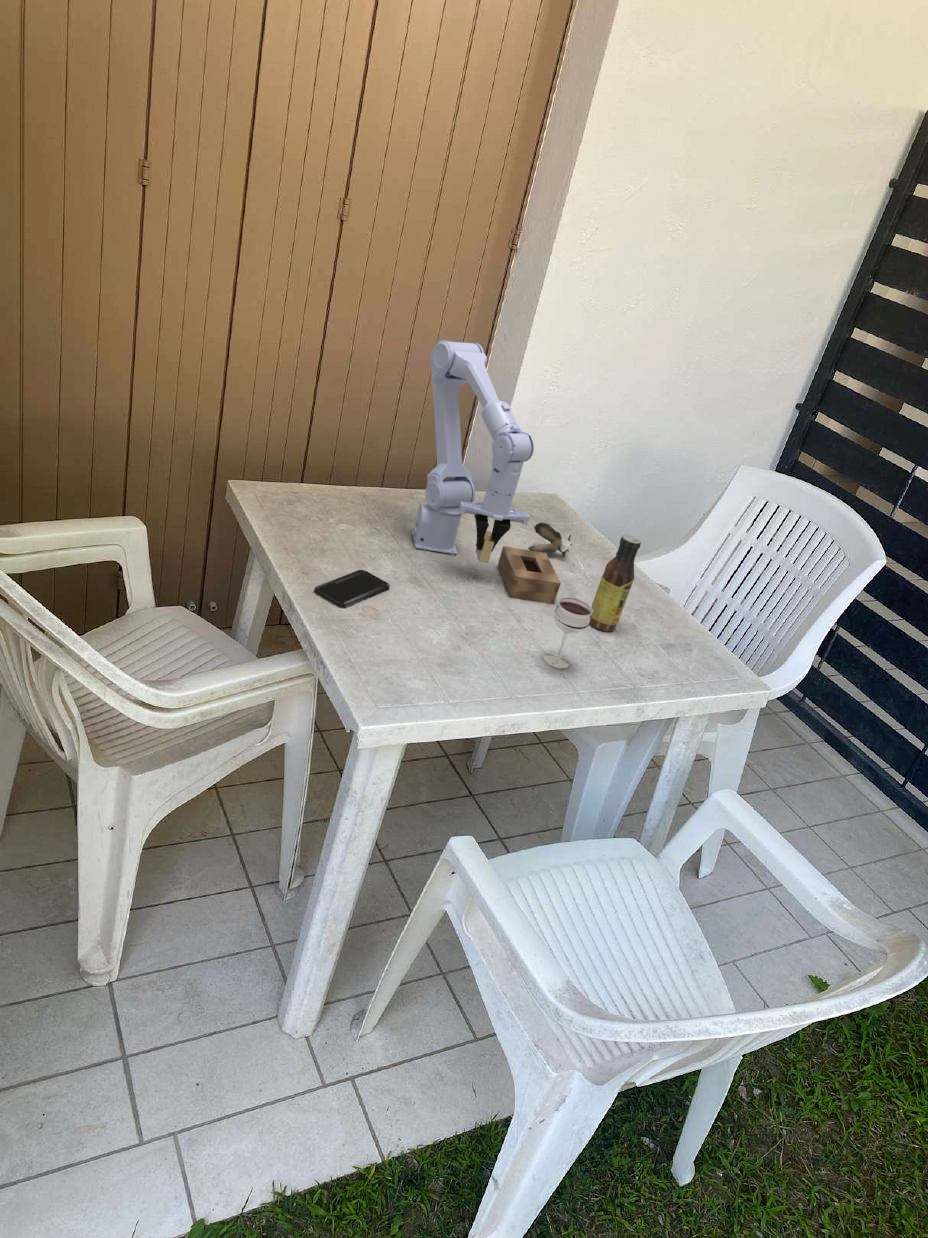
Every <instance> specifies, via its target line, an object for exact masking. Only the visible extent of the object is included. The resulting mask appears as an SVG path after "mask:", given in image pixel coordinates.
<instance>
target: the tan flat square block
mask: <svg viewBox="0 0 928 1238" xmlns="http://www.w3.org/2000/svg"><path fill="white" fill-rule="evenodd" d="M493 545H494V539H493V537H492V532H491V531H489V530H487V531H486V533H485V536H484V540H483V544H482V547H481V550H478V549H477V547H476V546H475V547H476V548H475V553H476V557H477V559H478V562H479V563H485V564H489V563H490V562H489V561H490V558H491V555H492V553H493V551H492V549H493ZM493 550H494V549H493Z"/></svg>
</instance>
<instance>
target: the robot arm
mask: <svg viewBox="0 0 928 1238" xmlns="http://www.w3.org/2000/svg"><path fill="white" fill-rule="evenodd" d="M487 358H488V357H487V355H486V353H485V351H484V348H483V347H482V345H481V344H479V343H477V342H471V343H470V342H461V341H460V342H458V341H450V340H449V341H448V340H444V339H443V340H439V341H438V342H437V343H436V345H435V346H434V347H433V349H432V351H431V352H430V364H431V365H430V368H431V369H430V370H431V381H432V394H433V410H434V411H433V412H434V414H433V415H434V426H435V430H434V431H435V445H436V447H435V448H436V466H435V467H434V468H433V469H432V470H431V471H430V472H429V473H428V474H427V476H426V477H427V478H426V479H427V480H426V481H427V483H426V488H425V494H424V495H425V500H426V502H427V503H425V504H424V503H421V504H419V506H418V510H417V513H416V516H415V522H414V526H413V528H412V529H413V530H412V531H411V535H412V538H413V539H412V540H413V544H414V545H413V546H414V548H416V549H417V550H423V551H424V550H425V551H432V552H437V553H444V554H450V555H457V554H458V550H457V548H456V547H457V546H456V545H455V542H456V539H457V535H458V530H459V527H460V524H461V519H462V516H463V515H466V514H468V515H473V516H474V521H475V527H476V528H475V529H476V541H475V542H476V543H475V547H477V549H478V550H481V547H482V544H483V540H484V536H485V533H486V531H488V528H489V526H490V524H489V518H492V519H493V520H494V522H493V525H492V526H493V527H492V532H491V534H492V537H493V539H494V545H493V549H492V552H493V551H494V549H495V548H496V546H497V545H498V543H499V541H500V540H501V539H502V537H503V536H505V534H506V533H508V532H509V531H510V530H511V527H512V524H511V522H513V523H519V524H520V523H521V524H522V525H523V526H528V525H529V524H528V523H529V520H530V515H529V513H528V512H524V511H520V510H517V509H514V508H512V507H511V506H512V503H513V501H514V500H513V499H514V496H515V493H516V489H517V488H518V487H517V486H518V483H519V481H520V477H521V473H522V469H523V467H524V463H525V462H528V461H529V460H530V459H531V458H532V456H533V455H534V450H535V445H534V440H533V437H532V435H531V434H530V433H529V432H527V431H524V430H523V428H520V426H519V424H518V422H517V421H516V418H515V417H514V414H513V413H512V410H511V407H510V405H509V403H507V402H506V401H504V400H499V397H498V395H497V392H496V390H495V387H494V385H493V382H492V379H491V377H490V374H489V373H488V370H487V367H486V365H487V361H488V359H487ZM466 383H467V384H468V385H469V386H470V388H471V389H472V391H473V393H474V394H475V396H476V398H477V400H478V401H479V403H480V404H481V406H482V408H483V409H482V412H481V419H482V420H483V422H484V425H485V427H486V428H487V430H488V433H489V434H490V436H491V439H492V440H493V441H492V445H491V451H492V460H491V467H492V469H491V472H490V474H489V479H488V484H487V487H486V489H485V490H486V491H485V494H484V497H483V501H482V502H475V497H476V489H475V486H474V484H473V479H472V473H471V471H470V470H469V469H468V468H467V467H466V466H464V464H463V458H462V457H463V456H462V441H461V439H462V438H461V437H462V435H461V421H460V419H461V418H460V417H461V416H460V415H461V414H460V400H459V398H460V397H459V392H460V391H459V390H460V389H461V388H462V386H463V385H464V384H466ZM446 478H447V479H446ZM448 478H452V479H448Z"/></svg>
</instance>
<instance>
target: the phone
mask: <svg viewBox="0 0 928 1238" xmlns="http://www.w3.org/2000/svg"><path fill="white" fill-rule="evenodd" d="M390 587H391V585H390V583H388V582H387V581H385V580H383V579H382V578H380V577H377V576H376V575H374V574H372V573H371V572H370V571H369V572H368V571H367V570H365V569H358V570H356V571H352V572H351V573H347V574H345V575H342V576H340V577H337V578H335V579H332V580H330V581H326V582H325V583H324V582H323V583H321V584H319V585H316V586H315V587H314V590H313V592H314V594H315V595H317V596H319V597H321V598H322V599H324V600H326V601H327V602H329V603H331V604H332V605H334V606H336V607H338V608H339V609H348V608H350V607H351V606H355V605H357V604H359V603H362V602H364V601H366V600H368V598H369V599H371V598H373V597H375V596H378V595H380V594H383V593H385V592H388V591H389V590H390ZM363 600H364V601H363ZM361 601H362V602H361ZM356 603H357V604H356ZM354 604H355V605H354ZM347 607H348V608H347Z"/></svg>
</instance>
